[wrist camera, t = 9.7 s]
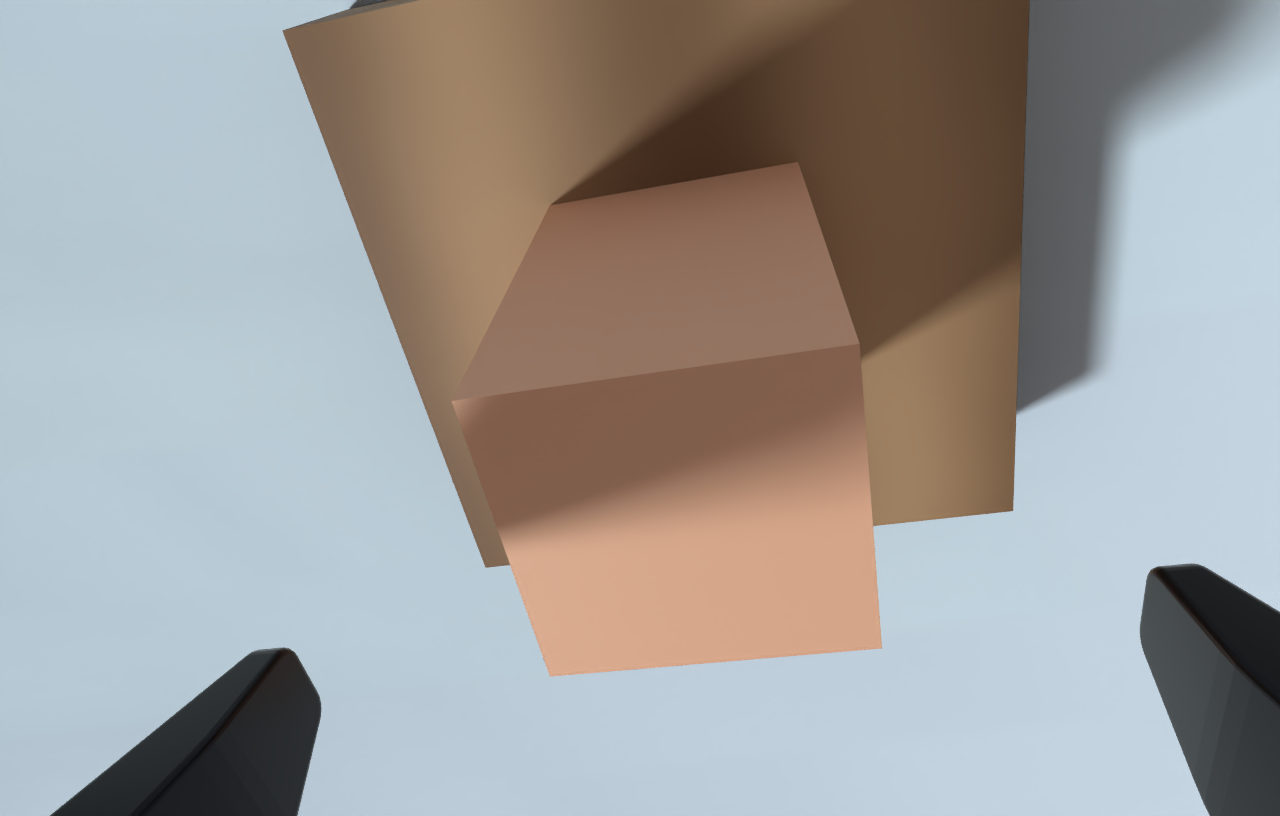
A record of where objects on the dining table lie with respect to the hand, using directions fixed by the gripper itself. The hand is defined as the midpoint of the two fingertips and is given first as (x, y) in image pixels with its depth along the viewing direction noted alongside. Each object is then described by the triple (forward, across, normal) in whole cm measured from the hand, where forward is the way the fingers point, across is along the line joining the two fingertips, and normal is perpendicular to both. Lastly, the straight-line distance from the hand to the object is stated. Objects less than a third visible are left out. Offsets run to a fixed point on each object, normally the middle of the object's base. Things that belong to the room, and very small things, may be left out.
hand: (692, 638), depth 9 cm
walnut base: (+12, 0, 0) cm, 12 cm away
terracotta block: (+9, 0, 0) cm, 9 cm away
